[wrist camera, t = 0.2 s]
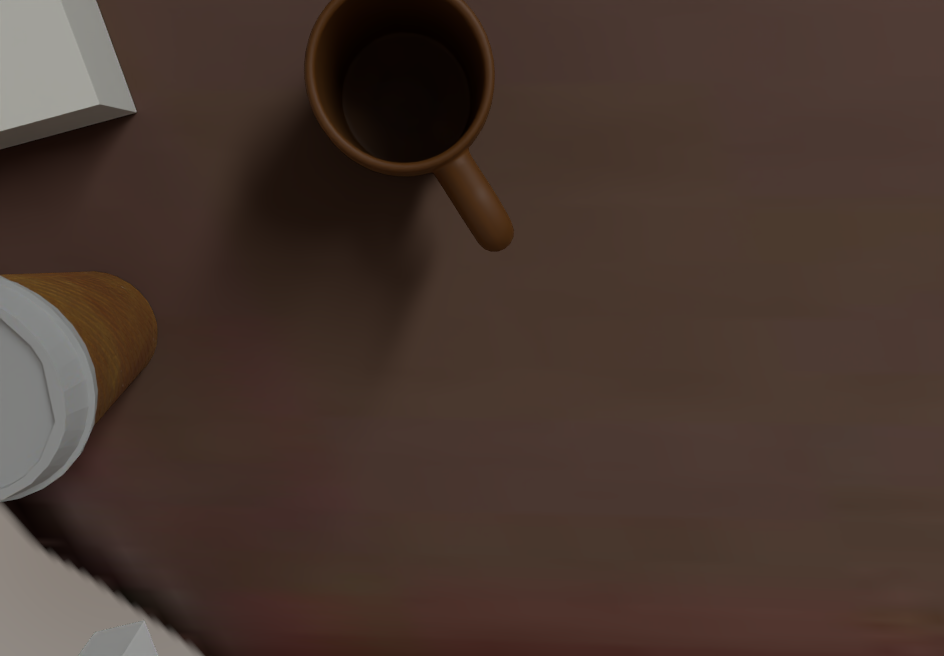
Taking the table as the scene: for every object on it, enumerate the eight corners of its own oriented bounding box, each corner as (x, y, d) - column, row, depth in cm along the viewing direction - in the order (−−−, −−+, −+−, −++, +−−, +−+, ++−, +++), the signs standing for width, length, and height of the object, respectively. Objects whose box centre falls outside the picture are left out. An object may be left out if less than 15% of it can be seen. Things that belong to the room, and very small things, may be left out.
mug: (548, 197, 37) (590, 204, 27) (431, 272, 37) (433, 304, 28) (428, -8, 34) (429, -76, 25) (303, 76, 34) (258, 39, 25)
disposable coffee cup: (151, 438, 38) (30, 554, 26) (-19, 369, 36) (-228, 460, 25) (215, 288, 36) (116, 340, 25) (40, 209, 35) (-154, 225, 23)
